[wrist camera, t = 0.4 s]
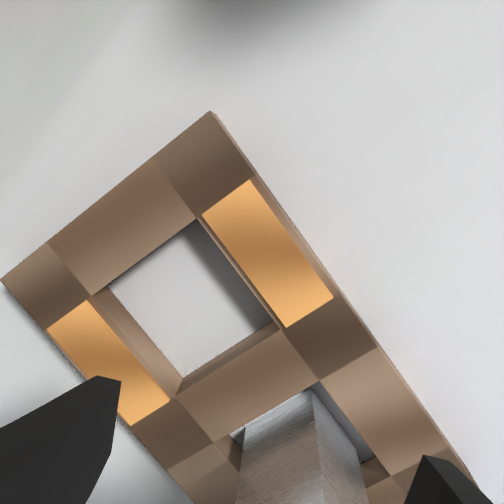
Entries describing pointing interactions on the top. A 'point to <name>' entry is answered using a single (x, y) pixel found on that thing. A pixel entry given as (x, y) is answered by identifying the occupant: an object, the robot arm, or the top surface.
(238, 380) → the socket plate
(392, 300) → the top surface
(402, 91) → the top surface
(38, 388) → the top surface
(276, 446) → the steel block
